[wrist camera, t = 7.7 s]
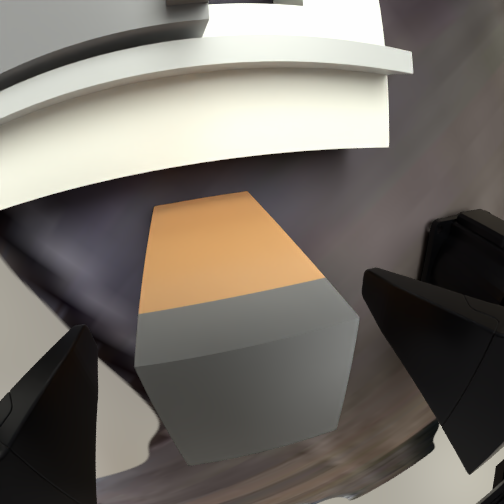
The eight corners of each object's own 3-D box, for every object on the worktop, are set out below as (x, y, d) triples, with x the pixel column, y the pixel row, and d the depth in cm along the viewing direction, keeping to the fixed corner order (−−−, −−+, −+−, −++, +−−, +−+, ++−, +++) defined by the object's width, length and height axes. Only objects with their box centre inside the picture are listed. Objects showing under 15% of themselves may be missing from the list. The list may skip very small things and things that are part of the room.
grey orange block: (254, 272, 15) (336, 429, 7) (171, 287, 14) (188, 465, 6) (247, 191, 13) (359, 318, 5) (154, 206, 12) (134, 366, 5)
